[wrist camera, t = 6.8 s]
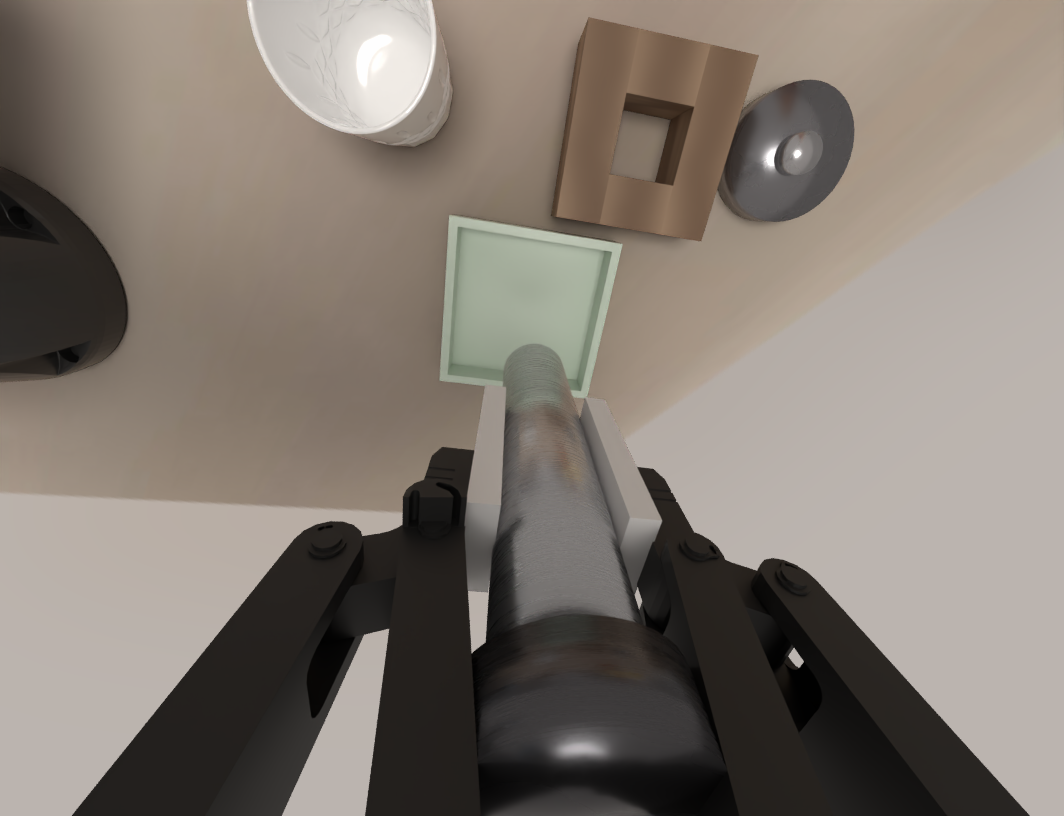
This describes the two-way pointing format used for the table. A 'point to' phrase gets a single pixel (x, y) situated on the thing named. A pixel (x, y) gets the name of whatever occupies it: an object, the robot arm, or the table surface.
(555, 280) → the tray
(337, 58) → the white cup
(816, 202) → the grey pot lid
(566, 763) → the lock pin
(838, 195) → the table surface
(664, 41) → the block
